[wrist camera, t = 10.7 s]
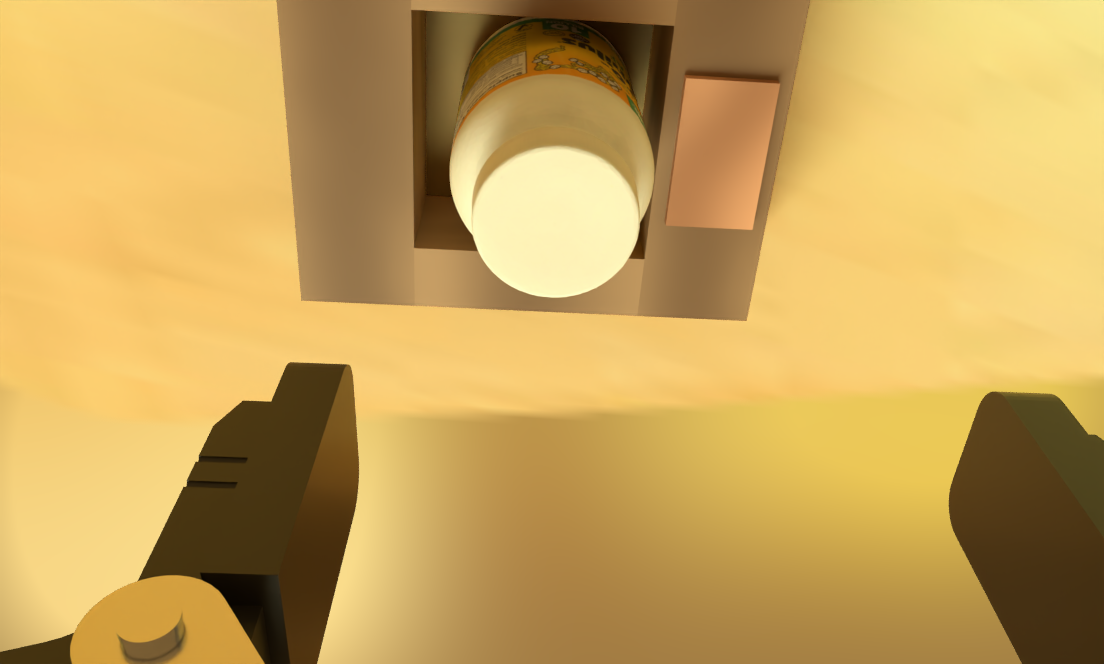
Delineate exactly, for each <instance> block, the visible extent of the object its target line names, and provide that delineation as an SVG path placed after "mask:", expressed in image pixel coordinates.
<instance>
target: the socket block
mask: <svg viewBox="0 0 1104 664" xmlns="http://www.w3.org/2000/svg"><path fill="white" fill-rule="evenodd" d="M809 3H810V0H277V10H278V22H279V34H280V46H281V58H282V71H283V83H284V95H285V107H286V119H287V131H288V143H289V155H290V167H291V180H292V192H293V204H294V216H295V228H296V240H297V252H298V264H299V276H300V288H301V301H323V302H345V303H367V304H388V305H410V306H432V307H454V308H476V309H498V310H520V311H542V312H564V313H585V314H607V315H629V316H651V317H673V318H695V319H717V320H739V321H747V316H748V311H749V306H750V301H751V296H752V291H753V286H754V281H755V276H756V271H757V266H758V260H759V255H760V250H761V245H762V240H763V235H764V230H765V225H766V220H767V215H768V210H769V205H770V200H771V195H772V190H773V185H774V180H775V175H776V170H777V165H778V160H779V155H780V149H781V144H782V139H783V134H784V129H785V124H786V119H787V114H788V109H789V104H790V99H791V94H792V89H793V84H794V79H795V74H796V69H797V64H798V59H799V54H800V49H801V43H802V38H803V33H804V28H805V23H806V18H807V13H808V8H809ZM426 11H442V12H458V13H475V14H491V15H507V16H523V17H540V18H556V19H572V20H589V21H605V22H621V23H638V24H654V26H653V35H652V43H651V52H650V61H649V69H648V78H647V86H646V95H645V103H644V112H643V122H644V125H645V128H646V131H647V134H648V138H649V140H650V144H651V148H652V153H653V159H654V170H655V171H654V185H653V191H652V196H651V199H650V202H649V205H648V208H647V210H646V212H645V214H644V216H643V218H642V220H641V222H640V229H639V234H638V239H637V242H636V244H635V247H634V249H633V251H632V253H631V255H630V257H629V258H628V260H627V261H626V263H625V264H624V266H623V267H622V268H621V269H620V270H619V271H618V272H617V273H616V274H615V275H614V276H613V277H612V278H610V279H609V280H608V281H607V282H605V283H603V284H602V285H600V286H598V287H597V288H595V289H592V290H590V291H588V292H585V293H581V294H579V295H574V296H568V297H557V298H551V297H541V296H535V295H531V294H528V293H525V292H522V291H519V290H517V289H515V288H513V287H511V286H510V285H508V284H506V283H505V282H504V281H502V280H501V279H500V278H499V277H497V276H496V275H495V274H494V273H493V272H492V271H491V270H490V269H489V268H488V266H487V265H486V264H485V262H484V261H483V259H482V257H481V256H480V254H479V252H478V249H477V247H476V244H475V241H474V238H473V235H472V234H471V233H470V231H469V230H468V228H467V227H466V225H465V224H464V222H463V221H462V219H461V217H460V215H459V213H458V211H457V208H456V206H455V203H454V200H453V197H448V196H429V195H426Z"/></svg>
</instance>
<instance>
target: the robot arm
mask: <svg viewBox="0 0 1104 664" xmlns="http://www.w3.org/2000/svg"><path fill="white" fill-rule="evenodd" d="M358 482H359V457H358V443H357V429H356V414H355V400H354V385H353V375H352V370H351V367H350V365H344V364H319V363H294V362H290V363H288V365H287V366H286V368H285V370H284V372H283V375H282V377H281V380H280V382H279V384H278V387H277V389H276V392H275V394H274V396H273V399H272V401H271V402H264V401H242V402H241V403H240V404H239V405H238V406H236V407H235V408H234V409H233V410H232V411H230V412H229V413H228V414H227V415H226V416H225V417H223V418H222V419H221V420H220V421H219V422H217V423H216V424H215V425H214V426H213V428H212V430H211V432H210V434H209V436H208V438H207V440H206V442H205V444H204V447H203V448H202V451H201V453H200V454H199V461H198V462H196V463H195V465H194V467H193V469H192V471H191V473H190V475H189V477H188V479H187V486H186V487H183V490H182V491H181V493H180V496H179V498H178V500H177V502H176V504H175V506H174V508H173V510H172V512H171V514H170V516H169V518H168V520H167V522H166V524H165V527H164V528H163V531H162V532H161V535H160V537H159V539H158V541H157V543H156V545H155V547H154V549H153V551H152V553H151V555H150V557H149V559H148V561H147V563H146V566H145V567H144V569H143V571H142V574H141V576H140V578H139V580H138V581H137V582H134V583H131V584H129V585H127V586H124V587H122V588H120V589H118V590H116V591H114V592H113V593H111V594H109V595H108V596H106V597H105V598H103V599H102V600H101V601H100V602H98V603H97V604H96V605H95V606H93V607H92V609H91V610H90V611H89V612H88V613H87V614H86V615H85V616H84V618H83V619H82V620H81V622H80V623H79V624H78V626H77V628H76V630H75V632H74V633H72V634H70V635H67V636H64V637H62V638H58V639H55V640H51V641H48V642H44V643H39V644H35V645H30V646H25V647H21V648H17V649H13V650H8V651H3V652H0V664H317V661H318V657H319V653H320V649H321V645H322V641H323V637H324V633H325V629H326V625H327V621H328V617H329V613H330V609H331V605H332V601H333V596H334V593H335V589H336V584H337V581H338V576H339V573H340V568H341V565H342V560H343V556H344V552H345V548H346V544H347V540H348V536H349V532H350V528H351V524H352V520H353V516H354V512H355V507H356V501H357V493H358ZM949 513H950V520H951V524H952V528H953V531H954V533H955V535H956V537H957V539H958V541H959V543H960V545H961V547H962V549H963V551H964V552H965V554H966V557H967V558H968V560H969V562H970V564H971V566H972V568H973V570H974V572H975V574H976V576H977V578H978V580H979V582H980V583H981V585H982V587H983V589H984V591H985V593H986V595H987V597H988V599H989V601H990V603H991V605H992V607H993V609H994V610H995V612H996V614H997V616H998V618H999V620H1000V622H1001V624H1002V626H1003V628H1004V630H1005V632H1006V634H1007V635H1008V637H1009V639H1010V641H1011V643H1012V645H1013V647H1014V649H1015V651H1016V653H1017V655H1018V657H1019V659H1020V661H1021V662H1022V664H1104V440H1102V439H1101V438H1099V437H1098V436H1097V435H1088V434H1087V432H1086V431H1085V430H1084V428H1083V427H1082V426H1081V425H1080V423H1079V422H1078V421H1077V419H1076V418H1075V417H1074V416H1073V415H1072V413H1071V412H1070V411H1069V409H1068V408H1067V407H1066V406H1065V404H1064V403H1063V402H1062V401H1061V400H1060V399H1059V398H1058V397H1057V396H1055V395H1052V394H1040V393H1014V392H990V393H988V394H987V395H986V396H985V397H984V398H983V400H982V401H981V403H980V405H979V407H978V410H977V413H976V416H975V418H974V421H973V424H972V427H971V430H970V433H969V435H968V439H967V441H966V444H965V447H964V450H963V452H962V455H961V458H960V461H959V464H958V467H957V469H956V472H955V475H954V478H953V481H952V484H951V488H950V494H949Z"/></svg>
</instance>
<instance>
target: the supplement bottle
mask: <svg viewBox="0 0 1104 664" xmlns="http://www.w3.org/2000/svg"><path fill="white" fill-rule="evenodd" d="M654 171H655V170H654V159H653V153H652V148H651V144H650V140H649V138H648V134H647V131H646V128H645V125H644V122H643V119H642V116H641V113H640V110H639V107H638V104H637V100H636V98H635V94H634V91H633V88H632V84H631V81H630V78H629V75H628V72H627V69H626V67H625V65H624V62H623V61H622V59H621V57H620V55H619V54H618V52H617V51H616V50H615V48H614V47H613V46H612V45H611V43H610V42H609V41H608V40H607V39H606V38H605V37H604V36H603V35H601V34H600V33H599V32H598V31H596V30H595V29H593V28H591V27H589V26H588V25H585V24H583V23H581V22H578V21H575V20H571V19H556V18H540V17H525V18H521V19H518V20H516V21H513V22H511V23H509V24H507V25H505V26H503V27H502V28H500V29H499V30H497V31H496V32H495V33H494V34H493V35H491V36H490V37H489V38H488V39H487V40H486V41H485V42H484V43H483V44H482V46H481V47H480V48H479V49H478V51H477V52H476V54H475V56H474V57H473V59H472V61H471V63H470V65H469V67H468V70H467V72H466V75H465V79H464V83H463V87H462V92H461V98H460V104H459V109H458V115H457V122H456V127H455V132H454V139H453V144H452V151H451V158H450V186H451V192H452V196H453V200H454V203H455V206H456V208H457V211H458V213H459V215H460V217H461V219H462V221H463V222H464V224H465V225H466V227H467V228H468V230H469V231H470V233H471V234H472V235H473V238H474V241H475V244H476V247H477V249H478V252H479V254H480V256H481V257H482V259H483V261H484V262H485V264H486V265H487V266H488V268H489V269H490V270H491V271H492V272H493V273H494V274H495V275H496V276H497V277H499V278H500V279H501V280H502V281H504V282H505V283H506V284H508V285H510V286H511V287H513V288H515V289H517V290H519V291H522V292H525V293H528V294H531V295H535V296H541V297H551V298H557V297H568V296H574V295H579V294H581V293H585V292H588V291H590V290H592V289H595V288H597V287H598V286H600V285H602V284H603V283H605V282H607V281H608V280H609V279H610V278H612V277H613V276H614V275H615V274H616V273H617V272H618V271H619V270H620V269H621V268H622V267H623V266H624V264H625V263H626V261H627V260H628V258H629V257H630V255H631V253H632V251H633V249H634V247H635V244H636V242H637V239H638V234H639V229H640V222H641V220H642V218H643V216H644V214H645V212H646V210H647V208H648V205H649V202H650V199H651V196H652V191H653V185H654Z"/></svg>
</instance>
